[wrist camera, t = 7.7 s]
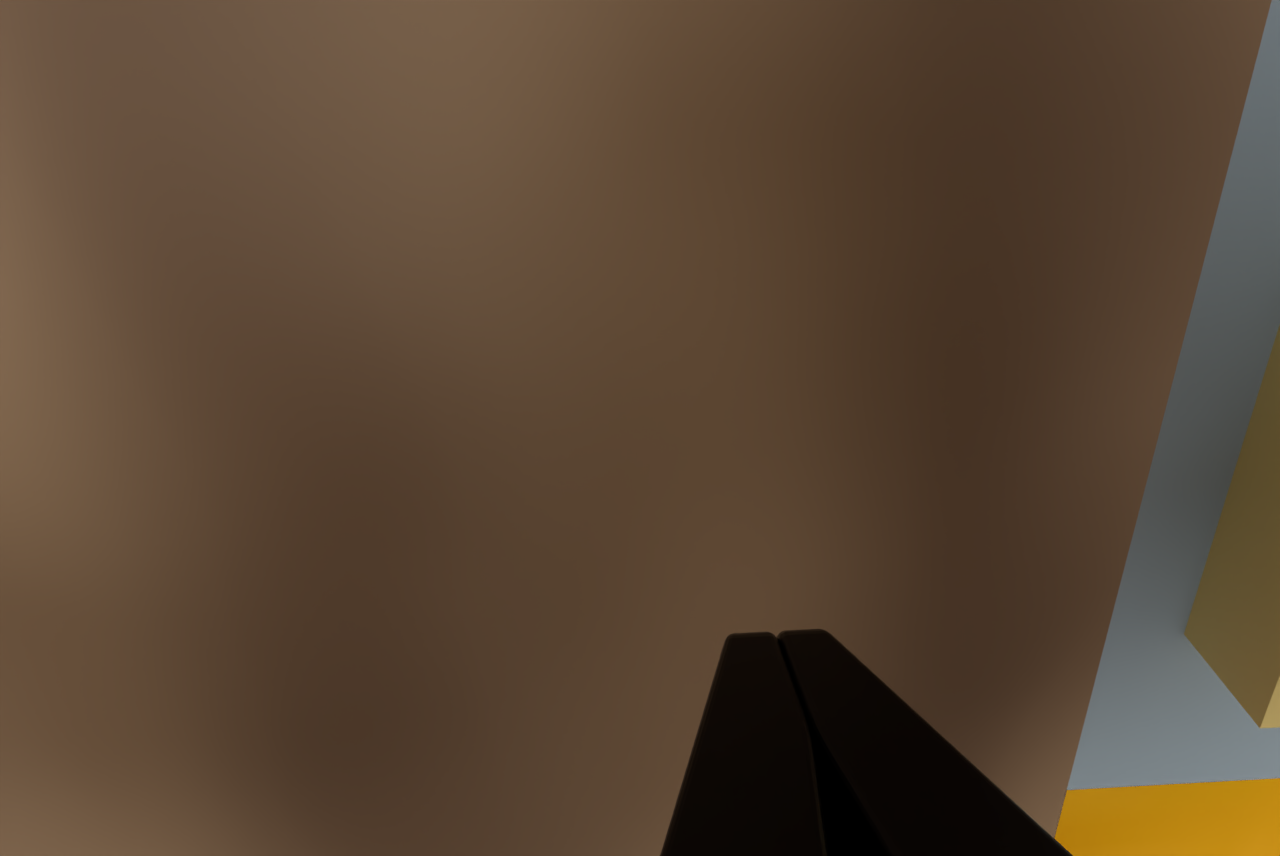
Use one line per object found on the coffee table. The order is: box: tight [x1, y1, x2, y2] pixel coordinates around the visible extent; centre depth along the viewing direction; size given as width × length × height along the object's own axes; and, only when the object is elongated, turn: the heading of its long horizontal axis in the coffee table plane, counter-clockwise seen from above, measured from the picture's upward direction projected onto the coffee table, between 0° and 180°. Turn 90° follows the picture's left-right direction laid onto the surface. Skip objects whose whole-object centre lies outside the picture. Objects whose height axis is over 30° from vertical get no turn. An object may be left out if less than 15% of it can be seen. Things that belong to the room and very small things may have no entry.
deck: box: [0, 0, 1272, 856], centre depth 12 cm, size 16×14×4 cm
